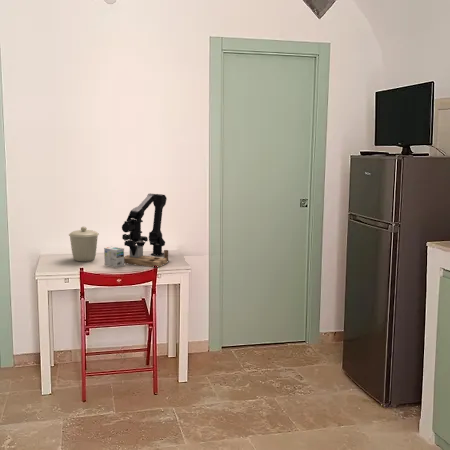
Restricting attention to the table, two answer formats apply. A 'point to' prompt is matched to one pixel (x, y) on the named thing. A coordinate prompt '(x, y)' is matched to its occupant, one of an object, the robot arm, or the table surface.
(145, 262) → the board
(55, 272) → the table surface
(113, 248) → the light bulb box
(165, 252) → the pin
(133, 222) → the robot arm
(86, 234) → the canister
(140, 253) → the grey cube
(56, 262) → the table surface
